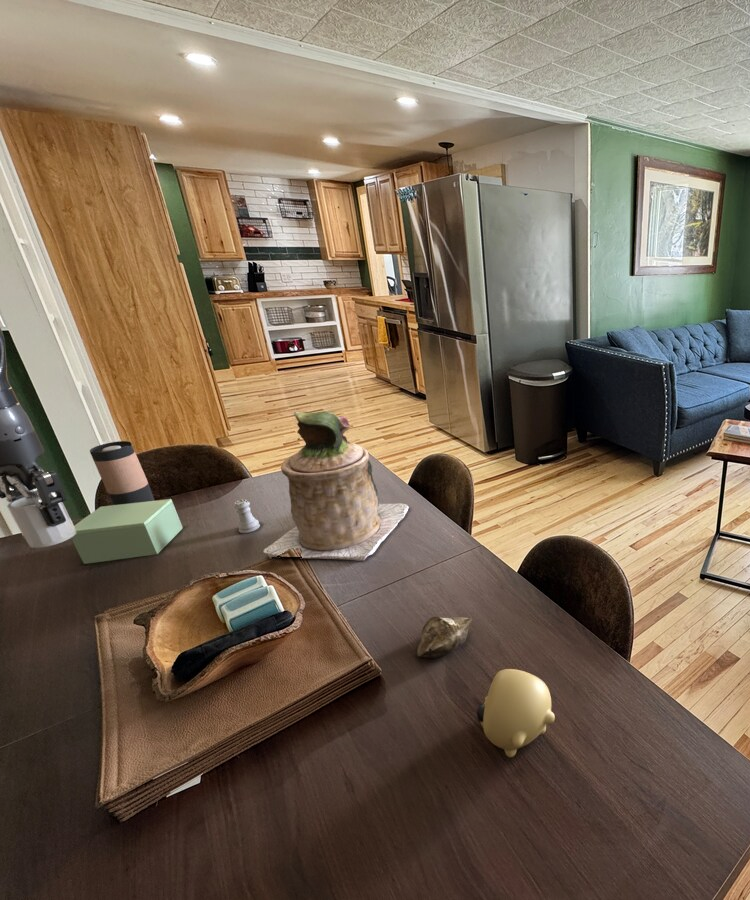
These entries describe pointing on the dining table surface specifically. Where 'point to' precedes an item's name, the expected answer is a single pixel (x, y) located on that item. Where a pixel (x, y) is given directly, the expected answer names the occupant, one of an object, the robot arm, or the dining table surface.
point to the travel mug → (121, 473)
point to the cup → (39, 524)
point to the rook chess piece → (246, 517)
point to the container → (129, 539)
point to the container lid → (121, 516)
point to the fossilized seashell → (442, 636)
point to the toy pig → (515, 710)
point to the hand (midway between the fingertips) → (44, 521)
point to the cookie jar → (333, 495)
